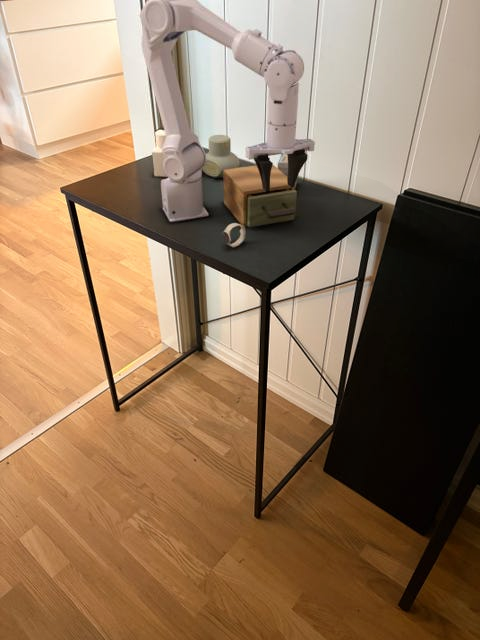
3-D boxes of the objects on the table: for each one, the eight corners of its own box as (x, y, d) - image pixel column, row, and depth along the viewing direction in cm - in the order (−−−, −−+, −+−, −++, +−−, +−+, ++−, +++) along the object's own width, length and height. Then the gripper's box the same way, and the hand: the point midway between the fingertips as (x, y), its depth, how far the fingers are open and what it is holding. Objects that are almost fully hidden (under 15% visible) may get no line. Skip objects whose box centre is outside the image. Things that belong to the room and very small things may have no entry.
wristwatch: (221, 246, 106) (221, 225, 103) (239, 239, 109) (239, 218, 105) (229, 251, 104) (229, 230, 101) (248, 244, 107) (248, 223, 104)
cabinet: (292, 218, 117) (295, 183, 111) (243, 227, 113) (243, 191, 108) (270, 195, 127) (271, 163, 121) (223, 203, 123) (223, 169, 118)
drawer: (304, 228, 111) (306, 200, 106) (257, 237, 107) (258, 208, 103) (273, 198, 123) (274, 171, 119) (230, 204, 120) (230, 178, 116)
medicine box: (293, 196, 126) (295, 163, 121) (276, 194, 127) (277, 161, 122) (296, 184, 132) (299, 152, 127) (280, 182, 133) (281, 150, 128)
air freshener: (196, 173, 138) (194, 137, 132) (215, 165, 143) (214, 130, 137) (225, 183, 133) (224, 146, 126) (244, 174, 138) (245, 138, 131)
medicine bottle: (160, 167, 142) (156, 124, 134) (185, 168, 141) (182, 125, 134) (154, 176, 136) (149, 132, 129) (179, 178, 136) (175, 133, 128)
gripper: (255, 131, 92) (254, 200, 100) (324, 123, 96) (317, 189, 104) (241, 121, 97) (241, 186, 105) (307, 113, 101) (302, 177, 109)
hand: (278, 187), depth 105 cm, fingers open, 5 cm apart
